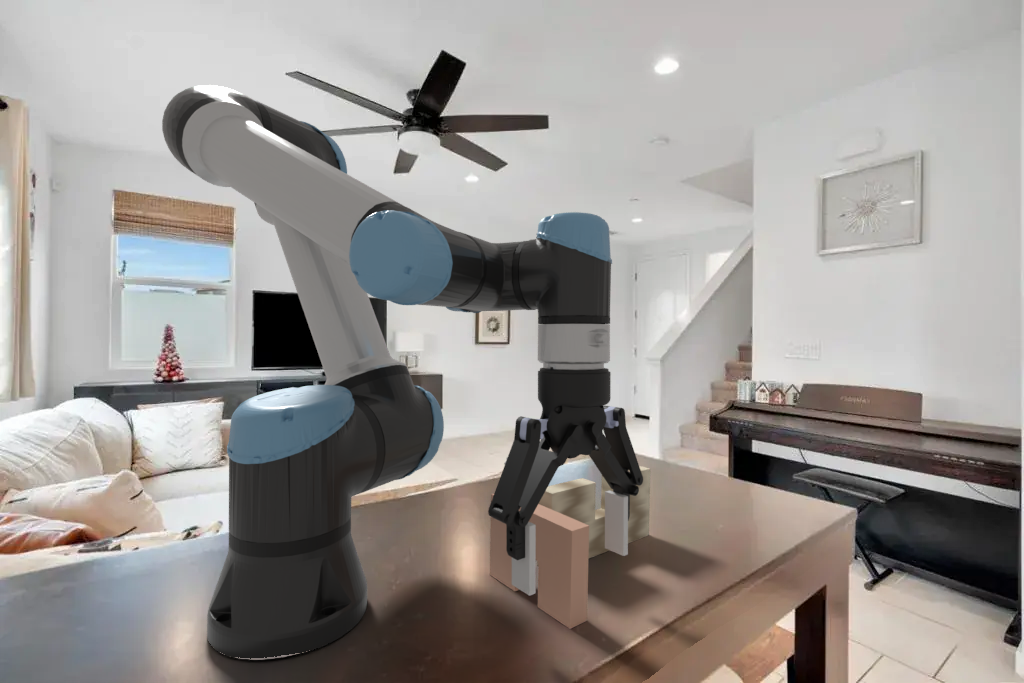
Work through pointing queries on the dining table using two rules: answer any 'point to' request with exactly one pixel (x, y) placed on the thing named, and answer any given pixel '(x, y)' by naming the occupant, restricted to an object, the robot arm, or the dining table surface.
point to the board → (580, 506)
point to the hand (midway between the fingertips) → (573, 568)
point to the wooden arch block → (550, 563)
